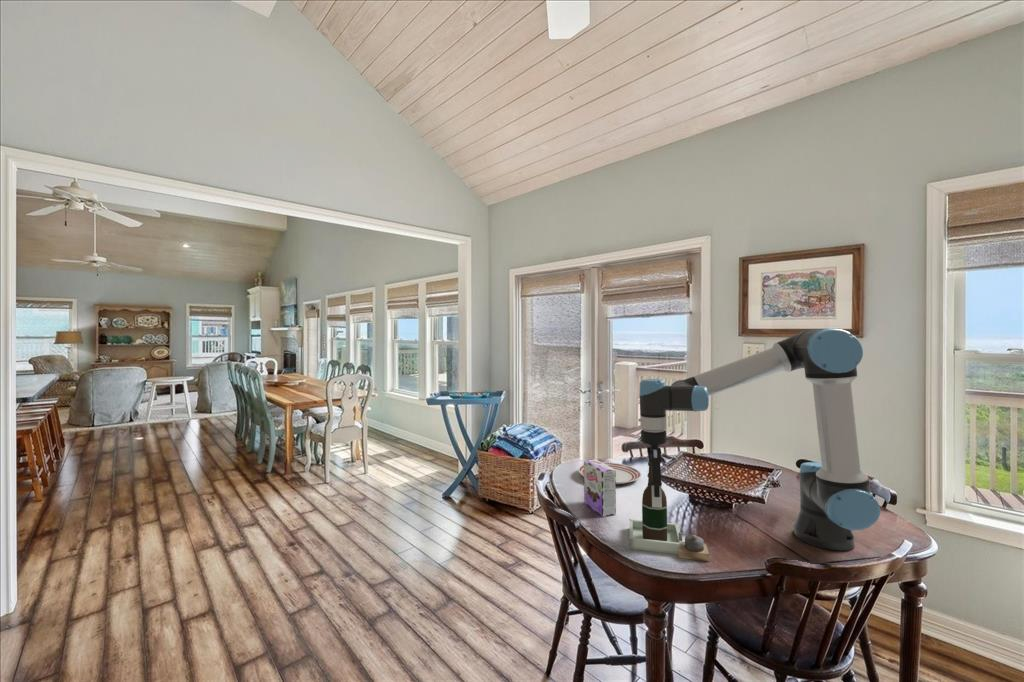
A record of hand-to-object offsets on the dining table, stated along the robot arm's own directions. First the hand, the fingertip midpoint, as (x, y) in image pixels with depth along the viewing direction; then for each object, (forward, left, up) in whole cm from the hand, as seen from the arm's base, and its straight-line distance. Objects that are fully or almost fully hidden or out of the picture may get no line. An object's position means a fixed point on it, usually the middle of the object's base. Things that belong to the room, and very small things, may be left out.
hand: (655, 498), depth 132 cm
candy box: (+18, -21, -13) cm, 31 cm away
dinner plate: (+16, -57, -14) cm, 61 cm away
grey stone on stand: (-10, +6, -13) cm, 17 cm away
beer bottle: (0, 0, -13) cm, 13 cm away
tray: (0, 0, -13) cm, 13 cm away
